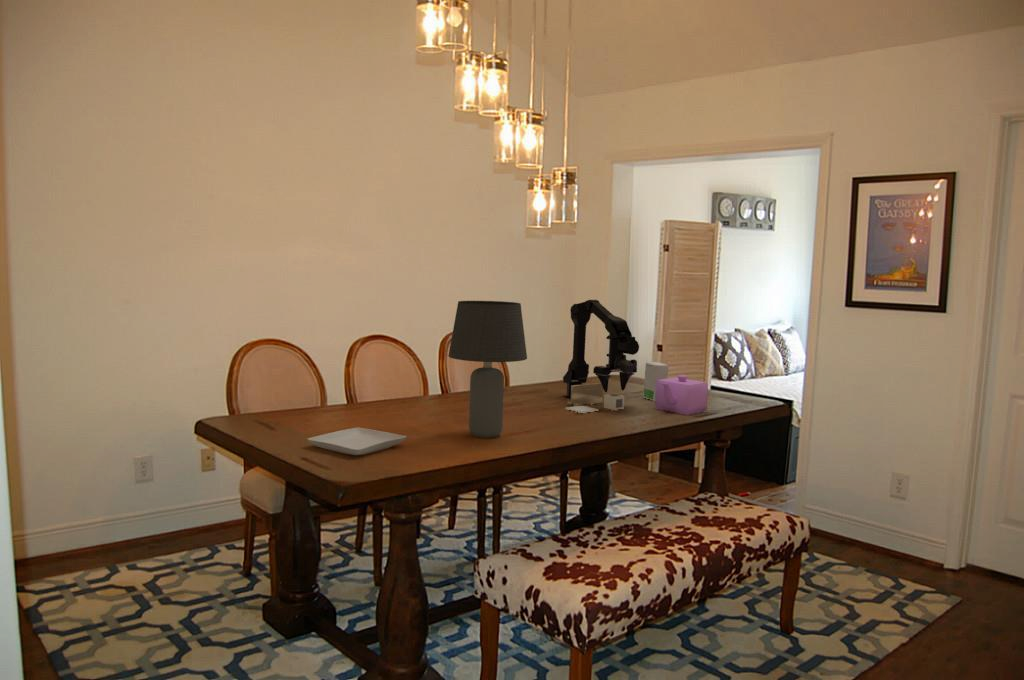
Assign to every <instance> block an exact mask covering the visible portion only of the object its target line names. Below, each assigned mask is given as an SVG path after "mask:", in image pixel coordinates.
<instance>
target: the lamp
mask: <svg viewBox="0 0 1024 680" xmlns="http://www.w3.org/2000/svg"><path fill="white" fill-rule="evenodd" d="M455 311H456V312H455V318H454V323H453V329H452V335H451V339H450V346H449V351H448V357H449V358H450V359H454V360H459V361H467V362H477V363H478V362H479V363H483V366H482V367H478V368H475V369H474V370H472V372H471V373H470V377H469V378H470V379H469V380H470V381H469V407H468V409H469V412H468V415H469V416H468V419H469V420H468V430H469V433H470V434H471V435H472V436H474V437H476V438H479V437H480V438H481V439H493V437H494V438H497V437H499V436H500V435H501V433H502V431H503V426H504V424H503V421H504V396H505V395H504V394H505V393H504V391H505V390H504V389H505V375H504V373H503V372H502V371H501V370H500V369H499V368H497V367H493V363H510V362H511V363H514V362H520V361H521V362H522V361H526V360H528V355H527V345H526V339H525V328H524V319H523V312H522V305H521V303H520V302H517V301H516V302H515V301H514V302H513V301H503V300H502V301H501V300H500V301H498V300H459V301H458V302H457V307H456V310H455Z"/></svg>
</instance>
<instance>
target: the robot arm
mask: <svg viewBox="0 0 1024 680" xmlns="http://www.w3.org/2000/svg"><path fill="white" fill-rule="evenodd" d="M592 314H593V315H595V317H597V318H598V319H599V320H600V321H601V322H602V323H603V324H604V328H605V330H606V331H607V332H608V333H609V334H608V335H607V336H606V337H605V338H606V340H609V341H608V343H609V345H608V353H606V357H608V363H605V365H598V366H597V365H596V366H594V367H593V371H592V372H593V374H595V376H597V378H598V380H599V383H601V384H602V387H603V392H604V393H608V389H609V380H610V378H611V376H612V375H610V374H611V373H614V372H615V373H616V372H619V382H620V389H621V391H625V389H626V387H627V384H628V382H629V379H630V378H631V377H632V376H634V375H635V373H637V372H638V367H637V366H638V361H637V359H627V355H631V356H632V355H633V356H634V355H636V354H637V353H638V352H639V350H640V344H639V342H638V341H637V340H636V337H635V336H633V334H632V332H631V330H630V326H629V324H628V322H627V320H625V319H623V318H622V317H619V316H616V315H614V314H613V313H612V312H610V311H609V309H607V308H606V307H605V305H603V304H602V303H600V301H599V300H597V299H588V300H585V301H583V302H579V303H574V304H572V306H570V319H571V321H572V323H573V342H572V343H573V345H572V348H573V349H572V358H571V360H570V362H569V363H568V367H567V371H566V372H565V374H564V375H563V376H562V382H563V383H565V384H566V394H563V397H565V398H570V399H571V386H572V385H583V384H587V379H588V376H589V374H590V370H589V369H590V364H588V363H587V362H586V359H585V358H586V357H585V356H586V337H587V335H586V333H587V325H588V323H589V321H590V320H591V317H592Z"/></svg>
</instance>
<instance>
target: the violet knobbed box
mask: <svg viewBox="0 0 1024 680" xmlns="http://www.w3.org/2000/svg"><path fill="white" fill-rule="evenodd" d="M708 389H709V382H706V381H700V380H694V379H688V376H687V375H684V374H679V375H677V377H668V378H667V379H661V380H657V381H656V400H655V401H654V402H655V405H654V406H655V407H654V409H655V408H657V409H656V410H658V409H661V410H660V411H663V410H666V411H665V412H668V411H670V412H669V413H673V412H675V413H674V414H678V413H680V414H679V415H683V414H685V415H684V416H691V415H690V414H692V415H695V414H694V413H697V414H700V413H699V412H702V413H704V412H703V411H706V412H707V404H708V391H709V390H708Z"/></svg>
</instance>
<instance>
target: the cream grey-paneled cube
mask: <svg viewBox="0 0 1024 680" xmlns="http://www.w3.org/2000/svg"><path fill="white" fill-rule="evenodd" d="M603 396H604V397H603V409H605V408H608V409H607V410H609V409H611V410H610V411H613V410H615V411H619V410H618V409H623V410H625V409H624V408H625V395H622V394H618V393H608V394H603Z"/></svg>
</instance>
